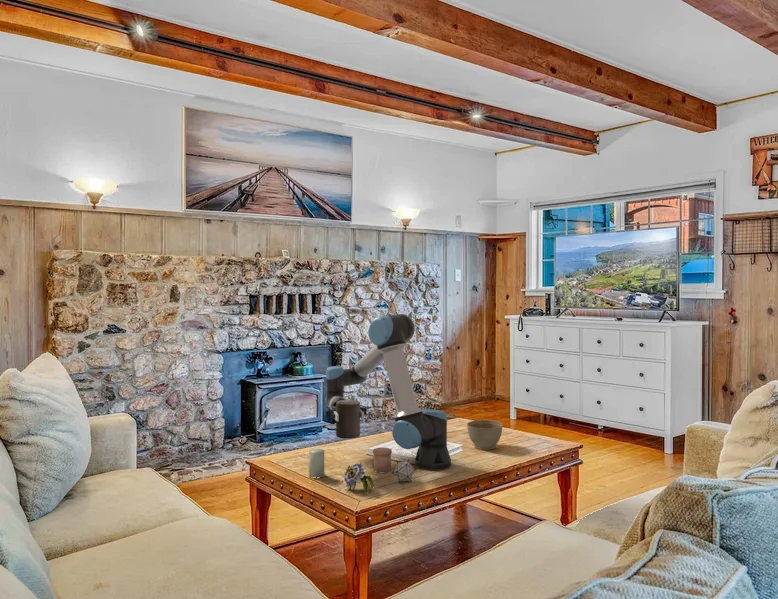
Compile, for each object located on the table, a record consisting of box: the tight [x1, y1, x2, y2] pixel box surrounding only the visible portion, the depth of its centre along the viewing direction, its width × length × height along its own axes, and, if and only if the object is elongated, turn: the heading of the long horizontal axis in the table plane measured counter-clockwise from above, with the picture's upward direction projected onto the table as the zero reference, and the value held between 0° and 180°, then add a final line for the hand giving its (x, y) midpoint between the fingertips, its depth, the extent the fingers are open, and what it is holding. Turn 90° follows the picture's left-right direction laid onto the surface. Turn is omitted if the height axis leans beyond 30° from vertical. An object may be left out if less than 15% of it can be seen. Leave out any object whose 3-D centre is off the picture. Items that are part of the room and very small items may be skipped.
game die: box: [391, 459, 417, 484], centre depth 231 cm, size 9×8×10 cm
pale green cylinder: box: [308, 448, 326, 478], centre depth 238 cm, size 6×6×10 cm
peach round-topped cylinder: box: [372, 447, 393, 473], centre depth 245 cm, size 8×8×8 cm
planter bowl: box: [466, 419, 503, 451], centre depth 277 cm, size 16×16×11 cm
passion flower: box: [342, 460, 379, 493], centre depth 224 cm, size 11×11×12 cm
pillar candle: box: [335, 399, 361, 440], centre depth 242 cm, size 10×10×15 cm
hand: (350, 416), depth 237 cm, fingers closed on pillar candle, 9 cm apart
